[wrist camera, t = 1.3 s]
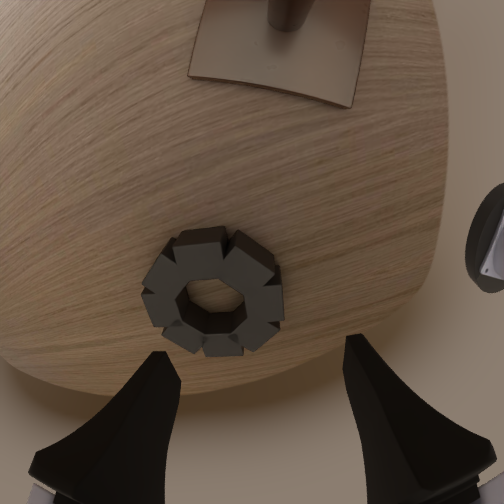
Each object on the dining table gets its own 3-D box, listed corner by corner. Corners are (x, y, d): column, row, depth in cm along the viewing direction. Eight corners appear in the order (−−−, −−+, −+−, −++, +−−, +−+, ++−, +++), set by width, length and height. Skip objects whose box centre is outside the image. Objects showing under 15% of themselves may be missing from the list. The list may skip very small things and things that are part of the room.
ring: (173, 336, 22) (166, 357, 20) (139, 236, 18) (125, 252, 16) (284, 331, 21) (286, 353, 19) (275, 220, 17) (278, 235, 15)
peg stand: (366, -8, 10) (416, -55, 3) (345, 109, 14) (404, 106, 7) (223, -37, 9) (205, -101, 3) (191, 79, 13) (143, 53, 7)
